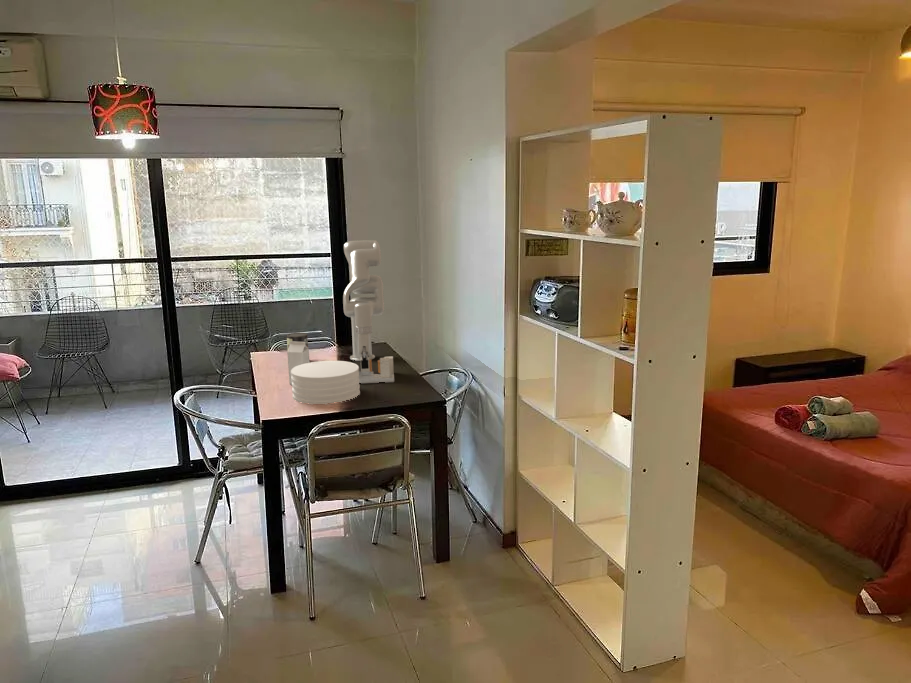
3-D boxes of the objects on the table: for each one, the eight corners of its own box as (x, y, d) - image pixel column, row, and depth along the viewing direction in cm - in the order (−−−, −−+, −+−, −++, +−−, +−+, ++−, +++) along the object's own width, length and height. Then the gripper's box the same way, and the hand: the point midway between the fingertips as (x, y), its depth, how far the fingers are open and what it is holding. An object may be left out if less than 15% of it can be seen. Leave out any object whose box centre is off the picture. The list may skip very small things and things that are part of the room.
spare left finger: (382, 373, 321) (382, 356, 319) (393, 372, 322) (392, 356, 320) (382, 375, 317) (382, 358, 315) (393, 375, 318) (393, 358, 316)
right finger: (361, 374, 320) (360, 357, 318) (372, 373, 321) (371, 357, 319) (361, 376, 316) (360, 359, 314) (372, 375, 317) (371, 359, 315)
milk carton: (304, 385, 302) (301, 343, 298) (289, 384, 304) (286, 343, 300) (310, 381, 309) (308, 340, 305) (296, 380, 310) (293, 339, 306)
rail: (341, 379, 311) (339, 358, 308) (393, 377, 313) (393, 356, 311) (340, 384, 303) (339, 362, 301) (394, 382, 306) (393, 360, 304)
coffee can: (312, 360, 348) (311, 333, 345) (302, 365, 338) (300, 337, 335) (295, 358, 351) (293, 332, 348) (284, 363, 342) (282, 336, 338)
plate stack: (347, 382, 307) (346, 357, 304) (369, 398, 282) (368, 371, 280) (285, 391, 294) (283, 365, 292) (302, 409, 270) (300, 381, 268)
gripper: (356, 327, 321) (357, 362, 325) (354, 333, 305) (356, 370, 308) (372, 326, 322) (373, 361, 326) (371, 332, 305) (373, 370, 309)
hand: (365, 366), depth 317 cm, fingers open, 9 cm apart
